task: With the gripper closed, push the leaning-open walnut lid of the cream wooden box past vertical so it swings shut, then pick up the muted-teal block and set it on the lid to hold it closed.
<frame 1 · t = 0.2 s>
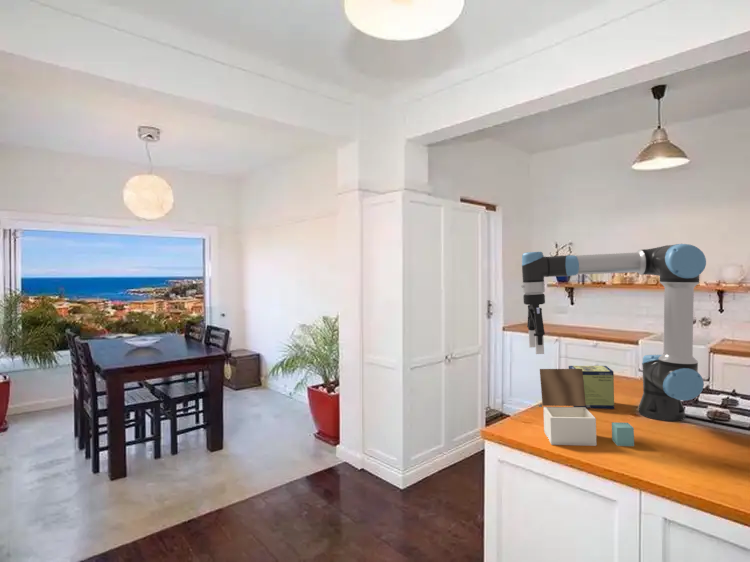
hand: (536, 350, 170), 28 cm above the worktop, fingers open, 13 cm apart
lid: (562, 387, 163), point 16 cm above the worktop, hinge at 105.0°
block: (622, 443, 150), on the worktop
protein box: (591, 405, 191), on the worktop
box: (569, 438, 156), on the worktop
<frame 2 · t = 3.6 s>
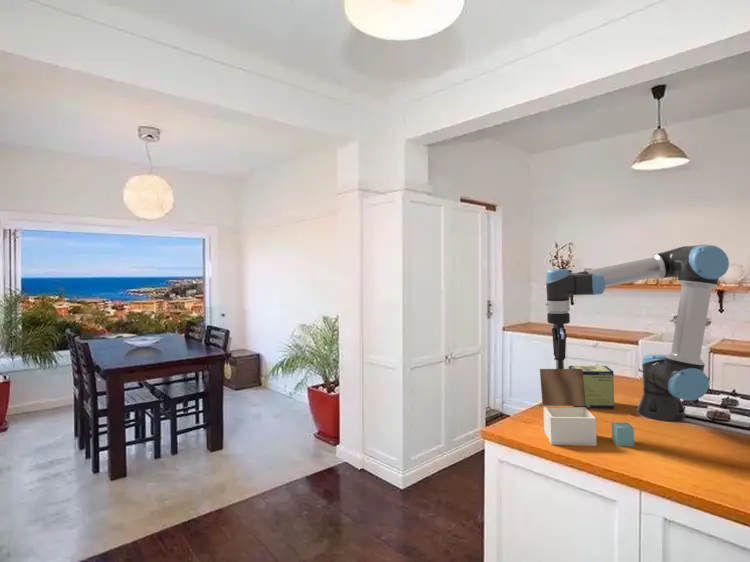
hand: (560, 377, 166), 19 cm above the worktop, fingers closed
lid: (562, 387, 163), point 16 cm above the worktop, hinge at 103.9°, touching gripper
everything else where it was.
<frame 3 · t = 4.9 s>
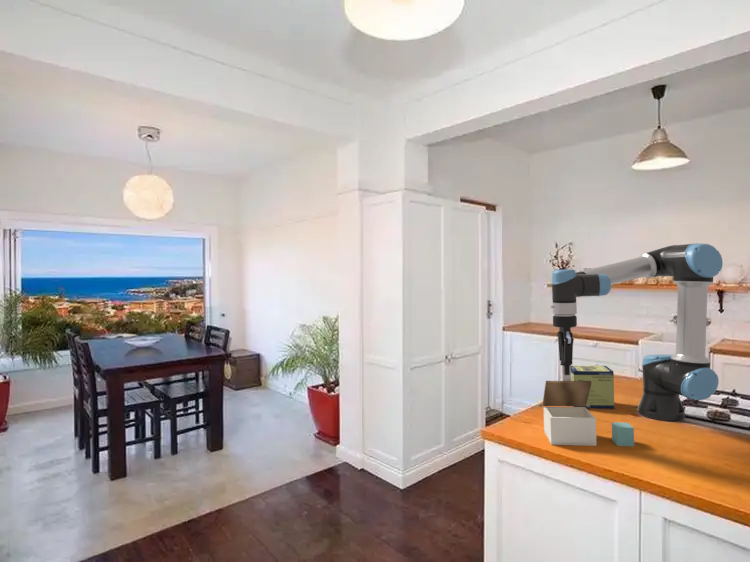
hand: (566, 383, 156), 19 cm above the worktop, fingers closed
lid: (566, 393, 158), point 15 cm above the worktop, hinge at 53.4°, touching gripper
everything else where it was.
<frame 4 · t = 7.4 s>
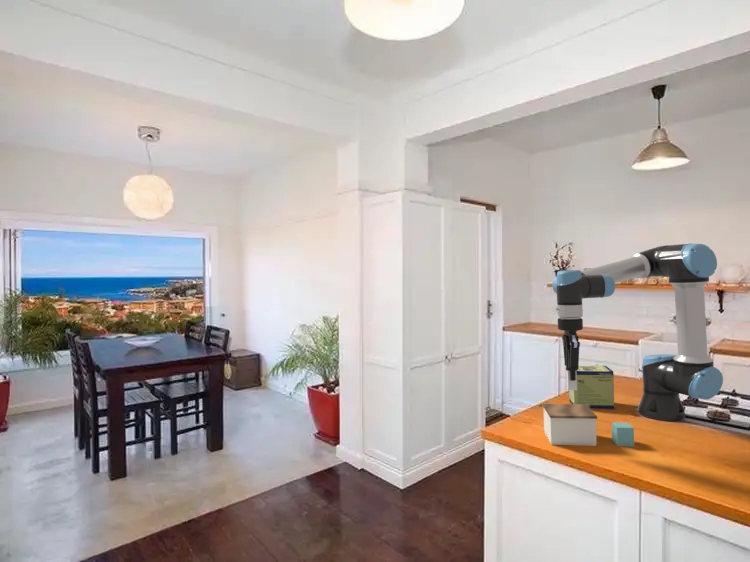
hand: (572, 389, 149), 18 cm above the worktop, fingers closed
lid: (568, 410, 155), point 10 cm above the worktop, hinge at -0.2°
everything else where it was.
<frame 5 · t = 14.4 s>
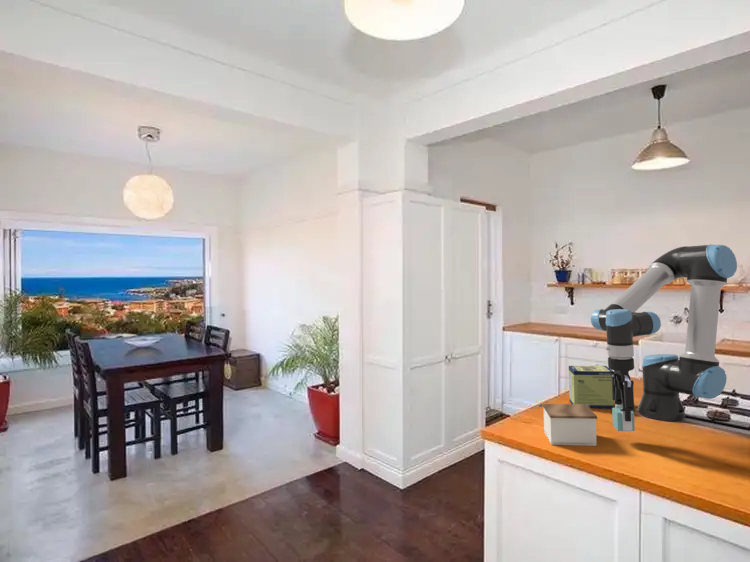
hand: (624, 426, 150), 5 cm above the worktop, fingers closed on block, 5 cm apart
block: (623, 428, 150), point 5 cm above the worktop, touching gripper
everything else where it was.
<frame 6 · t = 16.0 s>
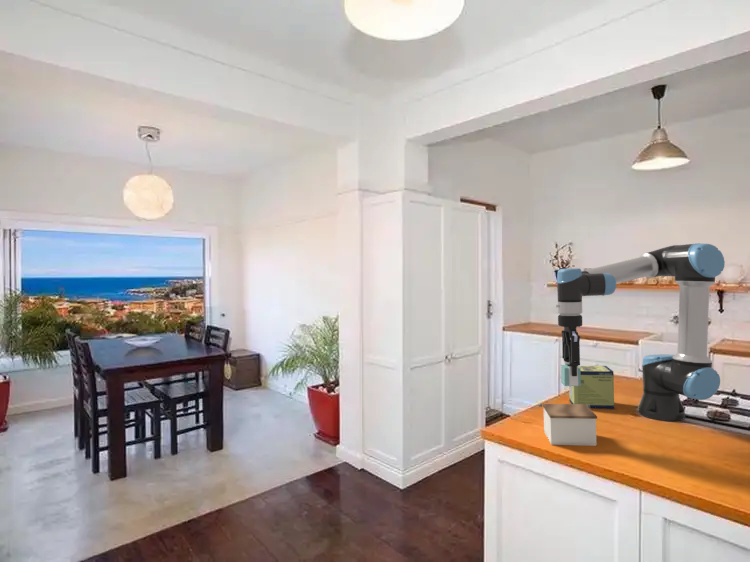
hand: (571, 383, 154), 19 cm above the worktop, fingers closed on block, 5 cm apart
block: (570, 384, 154), point 19 cm above the worktop, touching gripper
everything else where it was.
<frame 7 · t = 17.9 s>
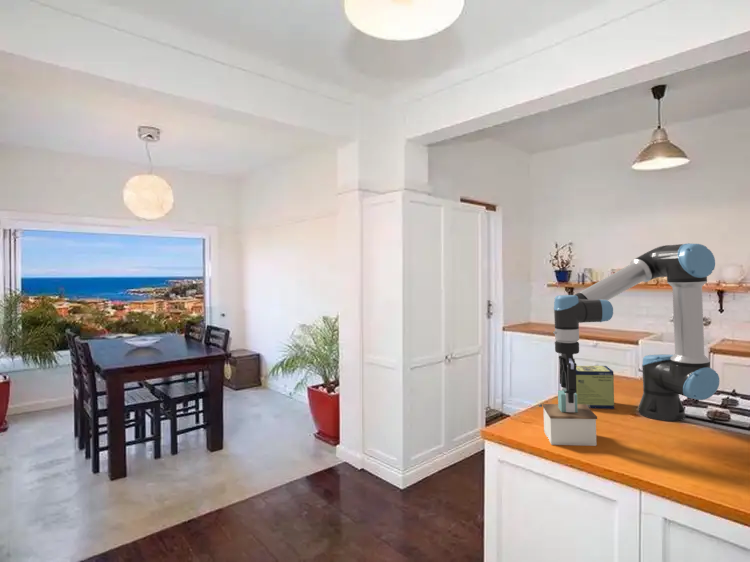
hand: (568, 409, 155), 10 cm above the worktop, fingers closed on block, 5 cm apart
lid: (568, 411, 155), point 10 cm above the worktop, hinge at -0.9°, touching gripper
block: (567, 409, 155), point 10 cm above the worktop, touching gripper
everything else where it was.
when the fingers open (10 cm above the worktop, at t = 18.1 s): block stays where it is, resting on lid.
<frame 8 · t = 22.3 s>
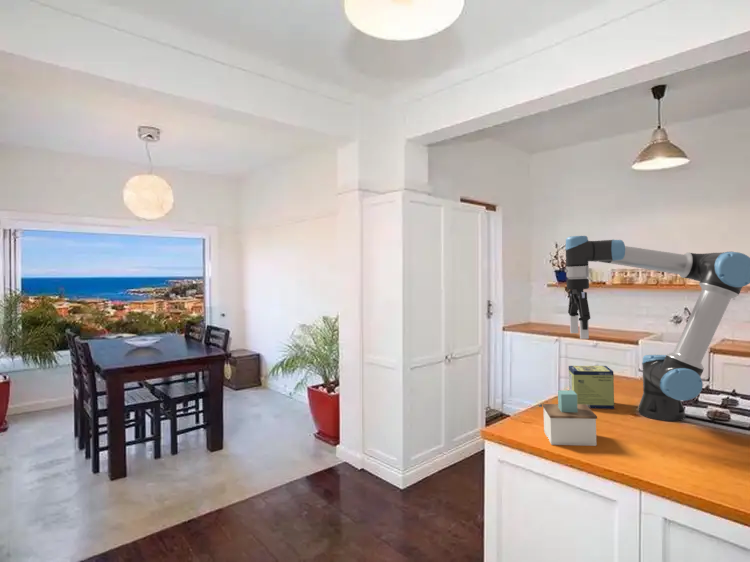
hand: (579, 335, 168), 33 cm above the worktop, fingers open, 13 cm apart
lid: (568, 410, 155), point 10 cm above the worktop, hinge at -0.3°, touching block
block: (567, 409, 155), point 10 cm above the worktop, touching lid
everything else where it was.
at the end: lid at +0° (first picture: +105°); block inside the target area (0.4 cm from its centre), point 10.0 cm above the worktop; block tilted 0° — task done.
